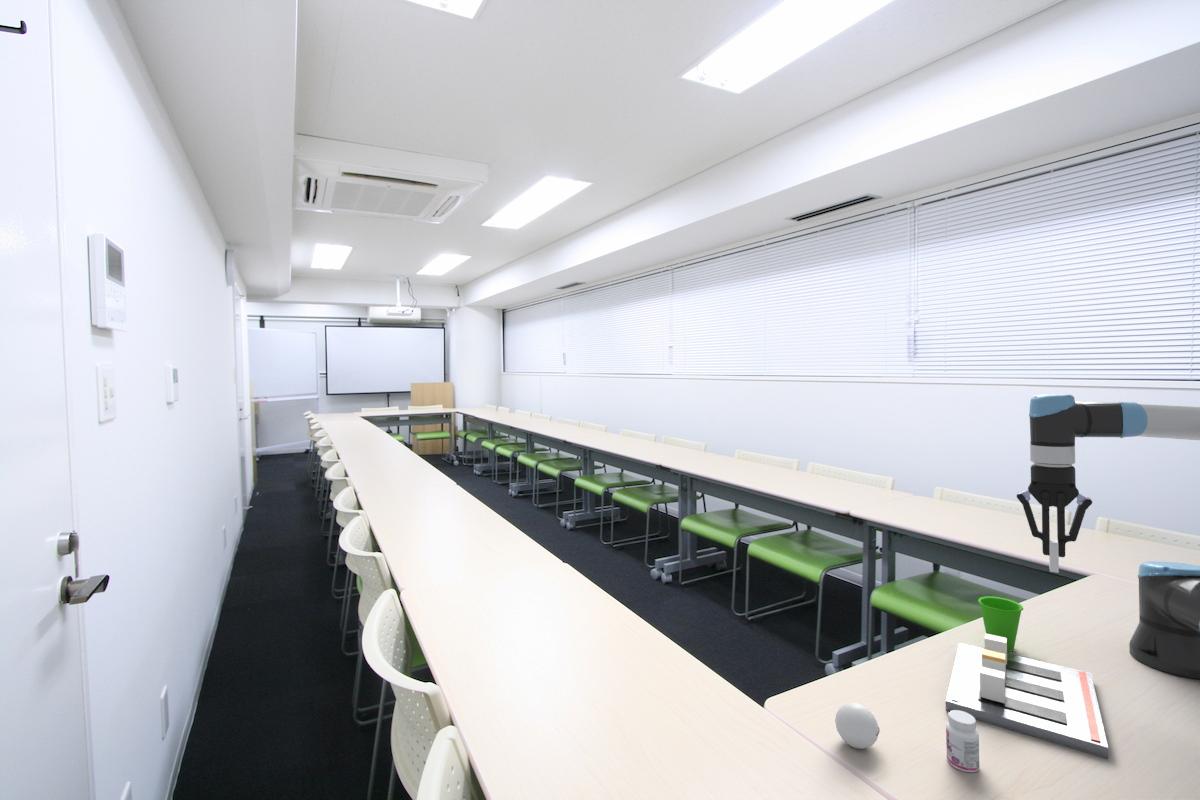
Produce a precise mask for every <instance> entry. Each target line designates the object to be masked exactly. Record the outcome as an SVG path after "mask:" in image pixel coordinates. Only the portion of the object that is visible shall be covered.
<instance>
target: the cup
mask: <svg viewBox="0 0 1200 800" xmlns="http://www.w3.org/2000/svg"><path fill="white" fill-rule="evenodd" d="M977 601H978V603H979V605H980V610H981V615H982V620H983V625H984V630H985V633H986V634H991V635H995V636H1000V637H1005V638H1007V653H1008V652H1013V650H1014V649H1015V646H1016V640H1017V635H1018V631H1019V630H1018V629H1019V624H1020V618H1021V614H1022V611H1023V610H1024V607H1023V605H1022V604H1021V603H1019V602H1017V601H1015V600H1013V599H1008V598H1005V597H999V596H992V595H991V596H981V597H979V598H978V599H977Z"/></svg>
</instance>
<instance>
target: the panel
mask: <svg viewBox="0 0 1200 800" xmlns="http://www.w3.org/2000/svg"><path fill="white" fill-rule="evenodd" d="M983 649H985V647H979V646H975V645H972V644H971V645H970V644H966V643H962V642H959V643H958V646H957V650H956V655H955V659H954V663H953V668H952V672H951V677H950V680H949V684H948V685H949V686H948V689H947V693H946V699H945V711H946V710H947V712H949V711H951V710H960V711H964V712H966V713H968V714H970V715H972V716H973V717H974V718H975V720H976V721H980V722H983V723H987V724H991V725H992V726H996V727H1000V728H1004V729H1006V730H1011V731H1014V732H1017V733H1021V734H1024V735H1027V736H1031V737H1033V738H1036V739H1041V740H1044V741H1047V742H1050V743H1054V744H1056V745H1060V746H1064V747H1068V748H1071V749H1075V750H1076V751H1077V750H1078V751H1081V752H1085V753H1087V754H1090V755H1094V756H1098V757H1101V758H1105V759H1109V744H1108V741H1107V737H1106V732H1105V727H1104V723H1103V719H1102V714H1101V710H1100V706H1099V703H1098V698H1097V693H1096V690H1095V689H1096V688H1095V685H1094V682H1093V681H1094V680H1093V676H1092V672H1091V671H1085V670H1081V669H1077V668H1076V669H1075V668H1072V667H1067V666H1063V665H1059V664H1055V663H1049V662H1045V661H1041V660H1036V659H1033V658H1028V657H1024V656H1020V655H1019V656H1018V655H1014V654H1010V653H1007V665H1006V683H1005V703H1001V702H997V701H994V700H990V699H986V698H983V697H980V667H981V666H982V651H983Z"/></svg>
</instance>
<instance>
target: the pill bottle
mask: <svg viewBox="0 0 1200 800" xmlns="http://www.w3.org/2000/svg"><path fill="white" fill-rule="evenodd" d="M947 714H948V715H947V716H948V717H947V720H948V721H947V723H946V725H945V733H946V734H945V741H946V742H945V744H946V760H947V762H948V763H949V765H951V766H952V767H953V768H955V769H957V770H959V771H962V772H964V773H976V772H978V771H979V770H980V736H979V731H978V729H977V720H976V719H975V718H974V717H973V716H972V715H970V714H968V713H966V712H964V711H960V710H951V711H950V712H949V711H948V713H947Z"/></svg>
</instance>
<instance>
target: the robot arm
mask: <svg viewBox="0 0 1200 800" xmlns="http://www.w3.org/2000/svg"><path fill="white" fill-rule="evenodd" d="M1029 403H1030V404H1029V412H1028V418H1029V430H1030V431H1029V433H1030V435H1029V437H1030V443H1029V448H1030V450H1029V451H1030V453H1029V454H1030V456H1029V457H1030V458H1029V459H1030V460H1029V461H1030V462H1032V464H1031V465H1030V483H1029V485H1028V488H1027V489H1026V490H1024V491H1019V492H1017V493H1016V499H1017V500H1018V501H1019V502H1020V503H1021V505H1022V507H1023V511H1024V514H1025V517H1026V519H1027V523H1028V526H1029V530H1030V531H1031V535H1032V537H1034V538H1037V539H1040V540H1041V543H1042V554H1043V555H1044V556H1048V560H1049V561H1048V565H1049V566H1048V567H1049V572H1050V573H1055V574H1056V573H1058V574H1059V573H1060V571H1059V567H1060V566H1059V565H1060V563H1059V558H1065V556H1066V544H1067V543H1070V542H1076V540H1078V539H1077V538H1078V535H1079V532H1080V529H1081V528H1082V527H1081V526H1082V523H1083V520H1084V518H1085V514H1086V511H1087V510H1088V509H1089V507H1091V505H1092V504H1093V499H1092V498H1091V497H1088V496H1084V495H1083V494H1082V493H1080V492H1079V489H1078V488H1077V485H1076V468H1075V466H1074V465H1075V464H1076V438H1120V439H1123V438H1133V437H1144V438H1159V439H1171V440H1172V439H1173V440H1175V439H1176V440H1188V441H1191V440H1192V441H1200V406H1188V405H1187V406H1183V405H1166V404H1165V405H1164V404H1146V403H1137V402H1132V401H1130V402H1129V401H1113V402H1111V401H1110V402H1107V401H1104V402H1103V401H1086V400H1085V401H1083V400H1075V396H1074V395H1072V394H1068V393H1067V394H1059V393H1058V394H1056V393H1055V394H1035V395H1033V396H1032V397H1031V398H1030V402H1029ZM1031 496H1032V497H1033V498H1034V499H1035V500H1036V501H1037V502H1038V504H1040V505H1041V531H1039V528H1038V525H1037V522H1036V519H1035V517H1034V514H1033V513H1034V512H1033V510H1032V507H1031V504H1030V501H1031ZM1075 499H1076V504H1077V507H1076V510H1075V514H1074V516H1073V519H1072V523H1071V526H1070V528H1069V532H1068V534H1066V507H1067V506H1069V505H1070V504H1071V503H1072V502H1073V501H1074V500H1075ZM1050 507H1055V508H1056V527H1057V529H1056V531H1057V534H1056V535H1057V536H1056V537H1057V539H1050V536H1051V535H1050V534H1051V533H1050V531H1051V530H1050ZM1137 578H1138V611H1139V613H1138V614H1139V616H1138V617H1139V619H1138V620H1139V621H1138V624H1137V626H1136V628H1135V630H1134V633H1133V635H1132V637H1131V639H1130V640H1129V643H1128V646H1129V647H1128V648H1129V649H1128V650H1129V654H1130V655H1131V657H1132V658H1134V659H1135V658H1136V659H1135V660H1136V661H1139V662H1140V663H1142V664H1144V665H1146V666H1148V667H1151V668H1154V669H1155V670H1156V669H1157V670H1159V671H1162V672H1164V673H1165V672H1166V673H1168V674H1170V675H1171V674H1173V675H1175V676H1181V677H1184V678H1190V679H1196V680H1200V565H1198V564H1190V563H1182V562H1173V561H1161V560H1160V561H1159V560H1155V561H1152V560H1151V561H1150V560H1149V561H1144V562H1142V563H1140V565H1139V569H1138V573H1137Z"/></svg>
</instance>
